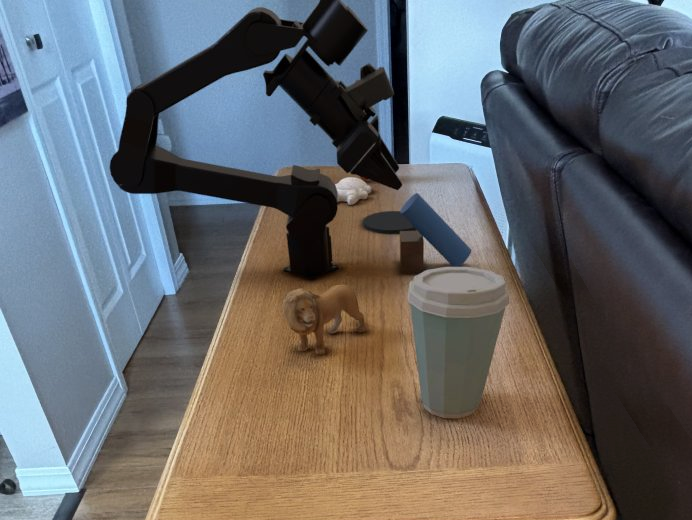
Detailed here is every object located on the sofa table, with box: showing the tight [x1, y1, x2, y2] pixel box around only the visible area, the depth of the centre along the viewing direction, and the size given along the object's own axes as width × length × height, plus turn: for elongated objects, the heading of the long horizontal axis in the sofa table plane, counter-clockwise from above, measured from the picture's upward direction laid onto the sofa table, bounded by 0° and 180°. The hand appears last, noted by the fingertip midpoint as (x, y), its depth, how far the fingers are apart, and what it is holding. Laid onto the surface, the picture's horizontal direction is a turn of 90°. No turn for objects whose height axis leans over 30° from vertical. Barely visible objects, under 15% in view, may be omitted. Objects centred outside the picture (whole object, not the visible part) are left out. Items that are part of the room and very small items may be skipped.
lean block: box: [399, 230, 425, 275], centre depth 116 cm, size 4×5×5 cm
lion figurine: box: [282, 284, 366, 356], centre depth 94 cm, size 15×5×9 cm, turn 150°
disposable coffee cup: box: [407, 266, 510, 419], centre depth 79 cm, size 11×11×15 cm
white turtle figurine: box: [334, 176, 372, 206], centre depth 147 cm, size 9×12×3 cm
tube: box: [400, 192, 472, 267], centre depth 114 cm, size 11×4×11 cm, turn 92°
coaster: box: [362, 210, 417, 234], centre depth 134 cm, size 11×11×1 cm
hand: (398, 178), depth 109 cm, fingers open, 9 cm apart
